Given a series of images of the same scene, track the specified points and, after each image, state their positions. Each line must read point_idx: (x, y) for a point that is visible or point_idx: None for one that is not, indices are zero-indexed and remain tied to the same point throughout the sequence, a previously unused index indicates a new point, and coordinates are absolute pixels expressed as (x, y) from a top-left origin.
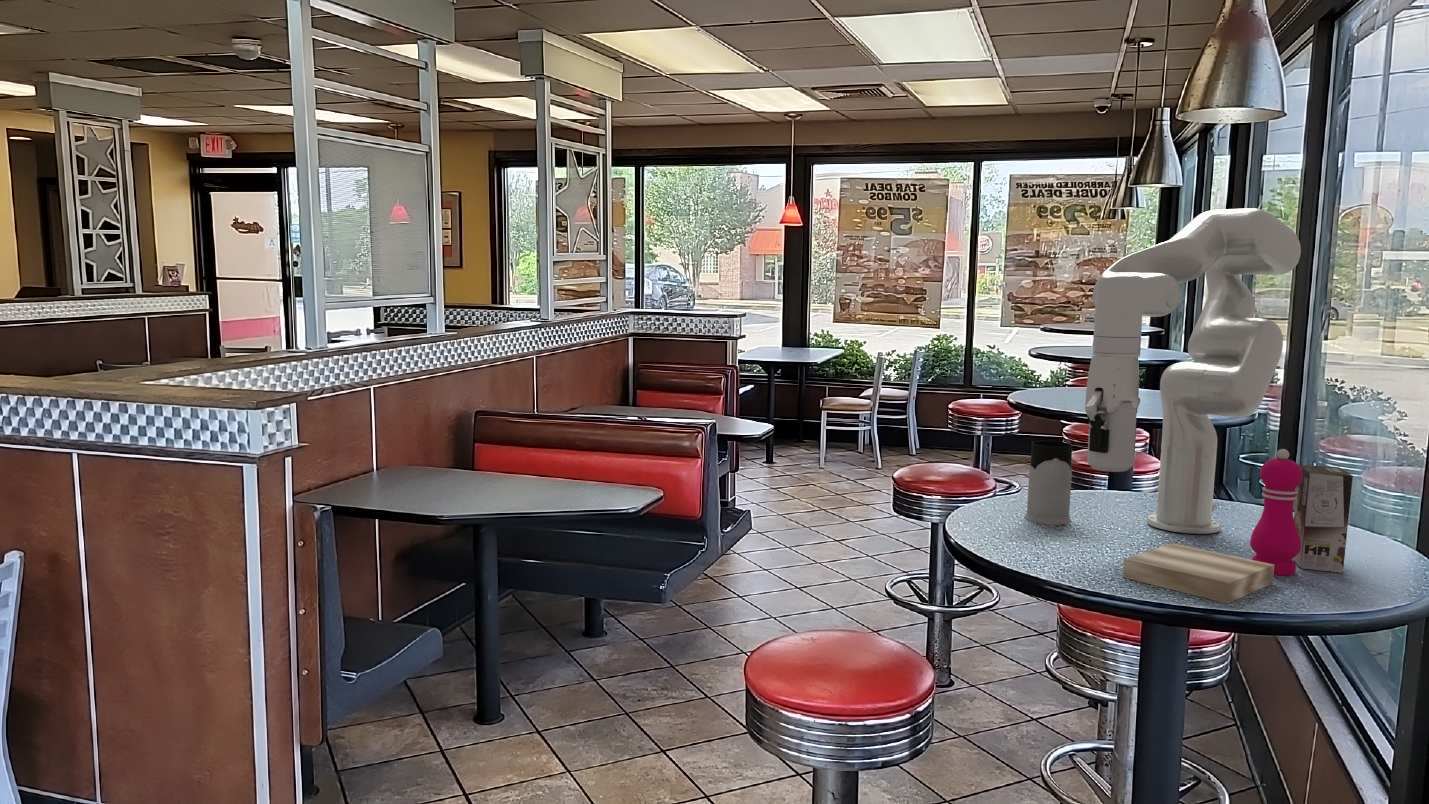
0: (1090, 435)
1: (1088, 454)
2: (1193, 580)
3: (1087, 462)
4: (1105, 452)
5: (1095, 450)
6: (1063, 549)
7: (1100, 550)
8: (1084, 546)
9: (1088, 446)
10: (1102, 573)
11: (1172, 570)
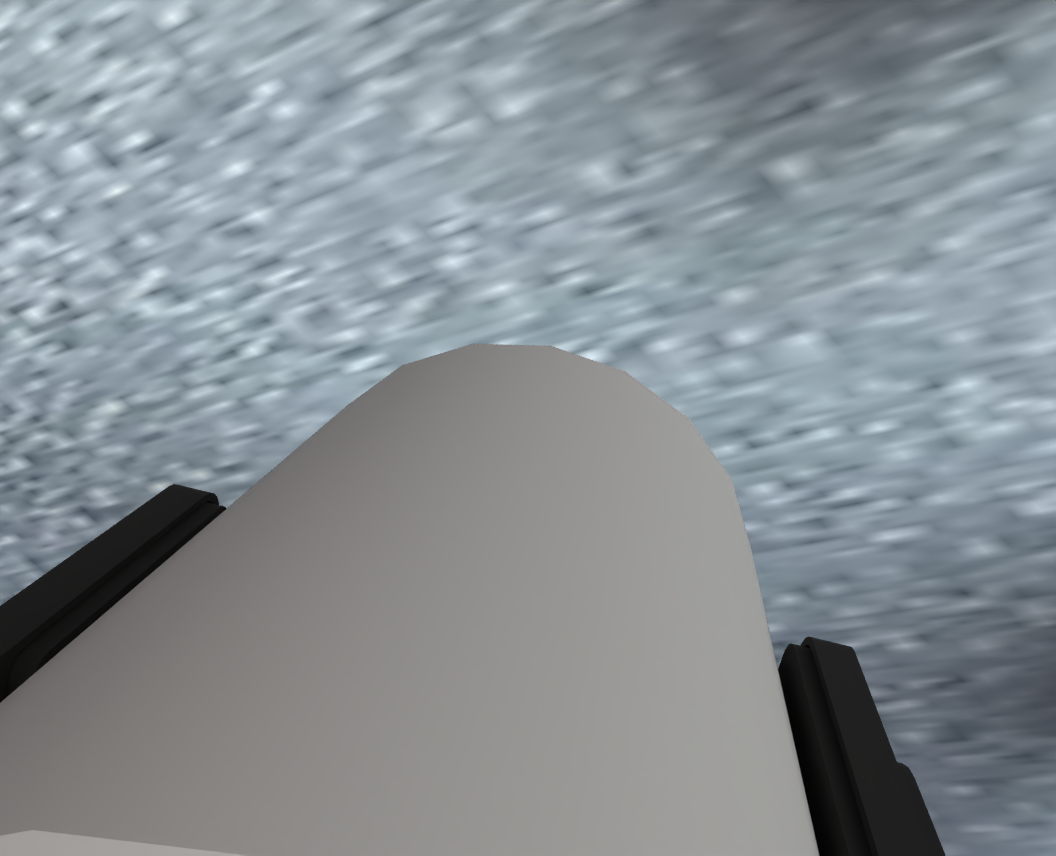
0: (42, 584)
1: (351, 407)
2: None
3: (399, 368)
4: None
5: None
6: (404, 186)
7: (523, 343)
8: (547, 252)
9: (322, 433)
10: (148, 462)
11: None
